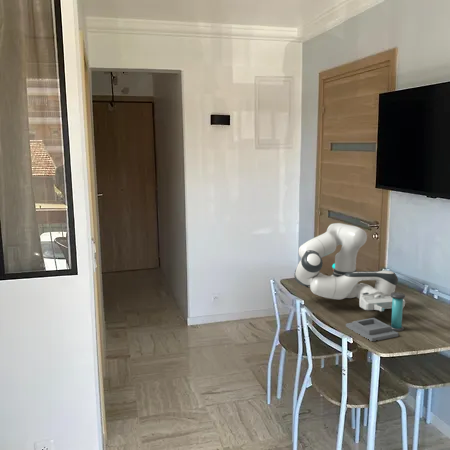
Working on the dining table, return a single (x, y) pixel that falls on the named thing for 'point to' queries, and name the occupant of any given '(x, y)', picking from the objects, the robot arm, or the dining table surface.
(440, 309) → the dining table surface
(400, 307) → the teal and grey rod
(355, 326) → the board
